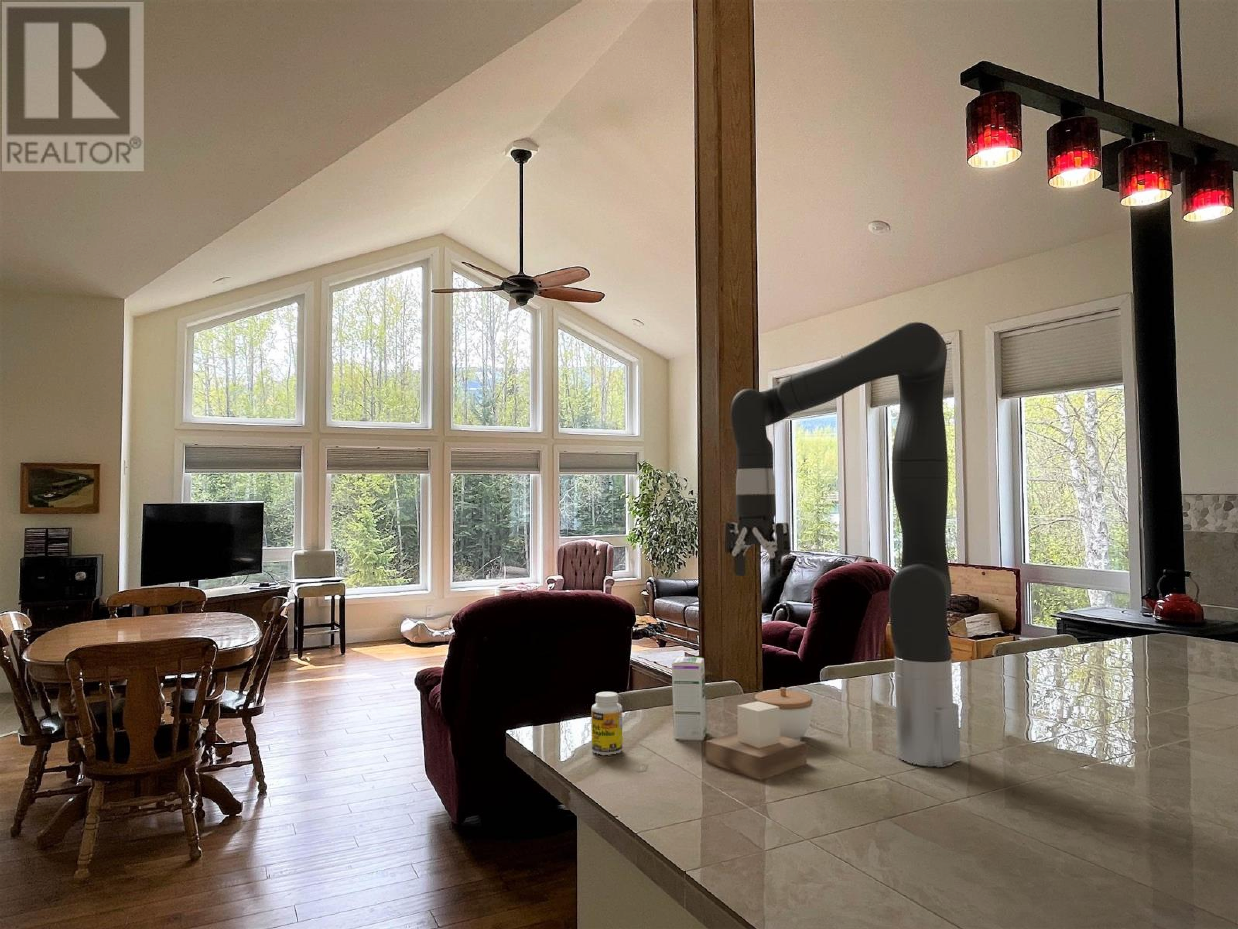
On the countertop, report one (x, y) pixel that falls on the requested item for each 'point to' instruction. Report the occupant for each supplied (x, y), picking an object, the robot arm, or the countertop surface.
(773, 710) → the cream block
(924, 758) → the robot arm
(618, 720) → the supplement bottle
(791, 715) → the lidded jar
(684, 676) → the syrup box
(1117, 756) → the countertop surface
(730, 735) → the walnut block
